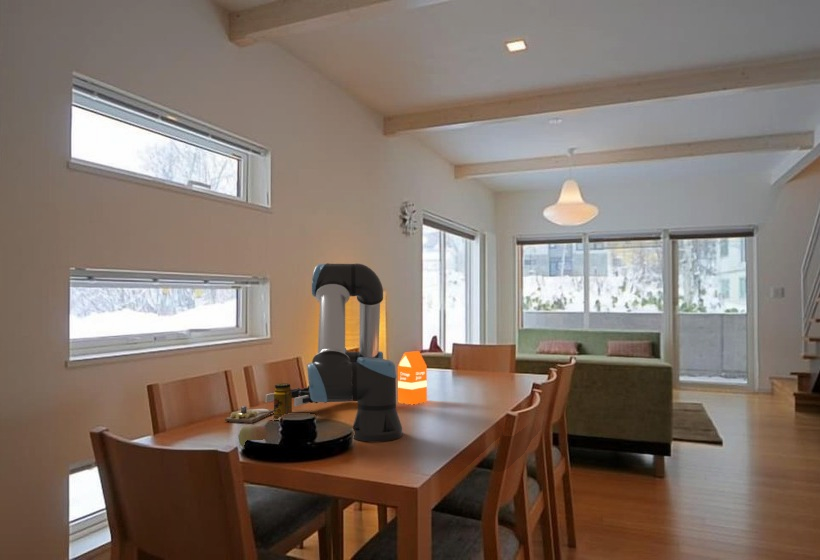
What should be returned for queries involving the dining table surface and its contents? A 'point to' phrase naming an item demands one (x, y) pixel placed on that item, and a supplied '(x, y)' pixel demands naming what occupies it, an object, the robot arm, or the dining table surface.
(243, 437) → the fruit
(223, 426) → the dining table surface
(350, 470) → the dining table surface
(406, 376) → the orange juice
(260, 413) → the gear board
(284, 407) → the condiment
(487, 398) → the dining table surface
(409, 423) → the dining table surface
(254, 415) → the gear
